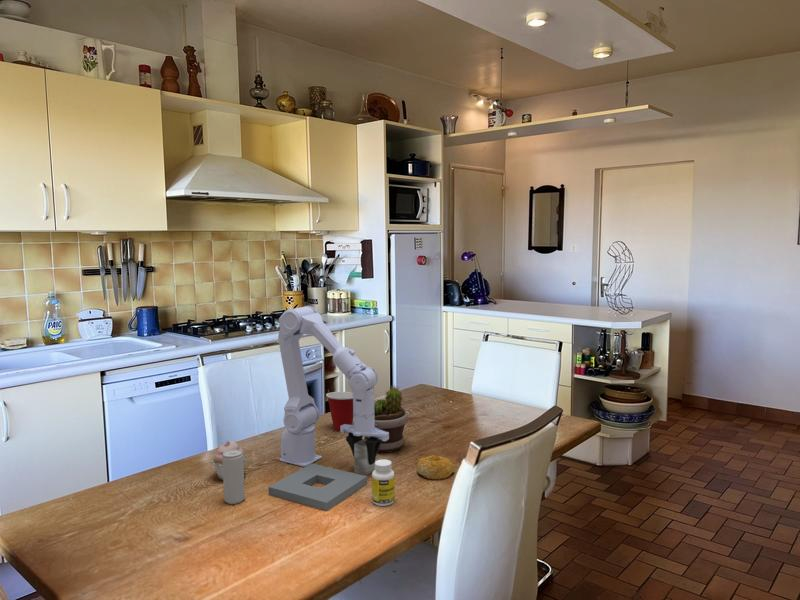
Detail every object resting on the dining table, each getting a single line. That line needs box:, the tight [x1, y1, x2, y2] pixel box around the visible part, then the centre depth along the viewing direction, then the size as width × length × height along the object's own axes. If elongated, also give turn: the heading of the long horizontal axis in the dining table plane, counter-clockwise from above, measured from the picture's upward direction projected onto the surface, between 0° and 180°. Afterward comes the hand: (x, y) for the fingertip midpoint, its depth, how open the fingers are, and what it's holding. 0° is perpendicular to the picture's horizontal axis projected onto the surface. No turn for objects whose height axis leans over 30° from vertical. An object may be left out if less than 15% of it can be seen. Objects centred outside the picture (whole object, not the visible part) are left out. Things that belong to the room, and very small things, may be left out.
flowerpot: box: [363, 384, 409, 453], centre depth 173 cm, size 14×15×20 cm
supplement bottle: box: [371, 459, 396, 507], centre depth 137 cm, size 5×5×10 cm
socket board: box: [268, 462, 368, 512], centre depth 145 cm, size 18×17×2 cm
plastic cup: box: [325, 391, 353, 432], centre depth 190 cm, size 11×11×12 cm
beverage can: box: [222, 449, 246, 505], centre depth 138 cm, size 5×5×12 cm
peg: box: [353, 438, 375, 476], centre depth 155 cm, size 4×4×8 cm
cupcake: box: [211, 440, 249, 481], centre depth 153 cm, size 9×9×10 cm
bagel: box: [415, 454, 455, 480], centre depth 154 cm, size 10×11×5 cm
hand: (364, 461), depth 155 cm, fingers closed on peg, 4 cm apart
